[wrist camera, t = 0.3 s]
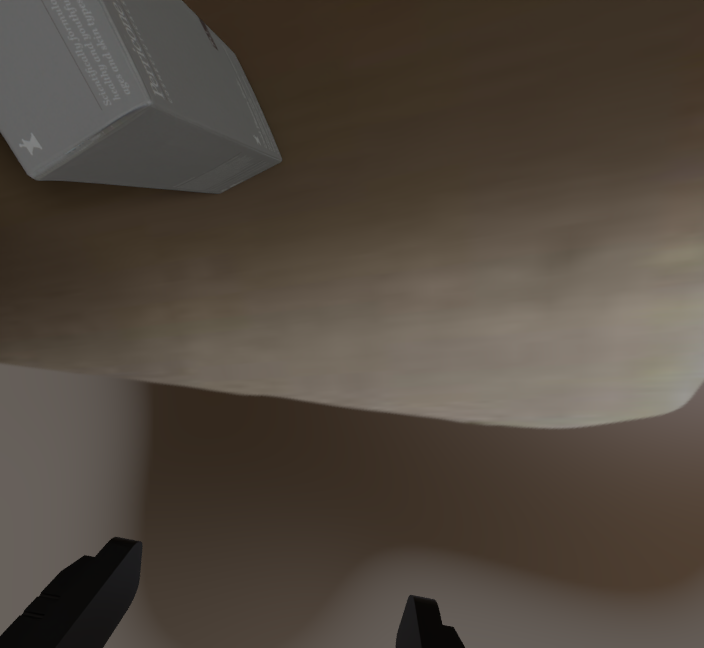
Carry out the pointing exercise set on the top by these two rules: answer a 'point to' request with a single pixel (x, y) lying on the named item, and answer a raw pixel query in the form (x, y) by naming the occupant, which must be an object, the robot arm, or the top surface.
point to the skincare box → (127, 96)
